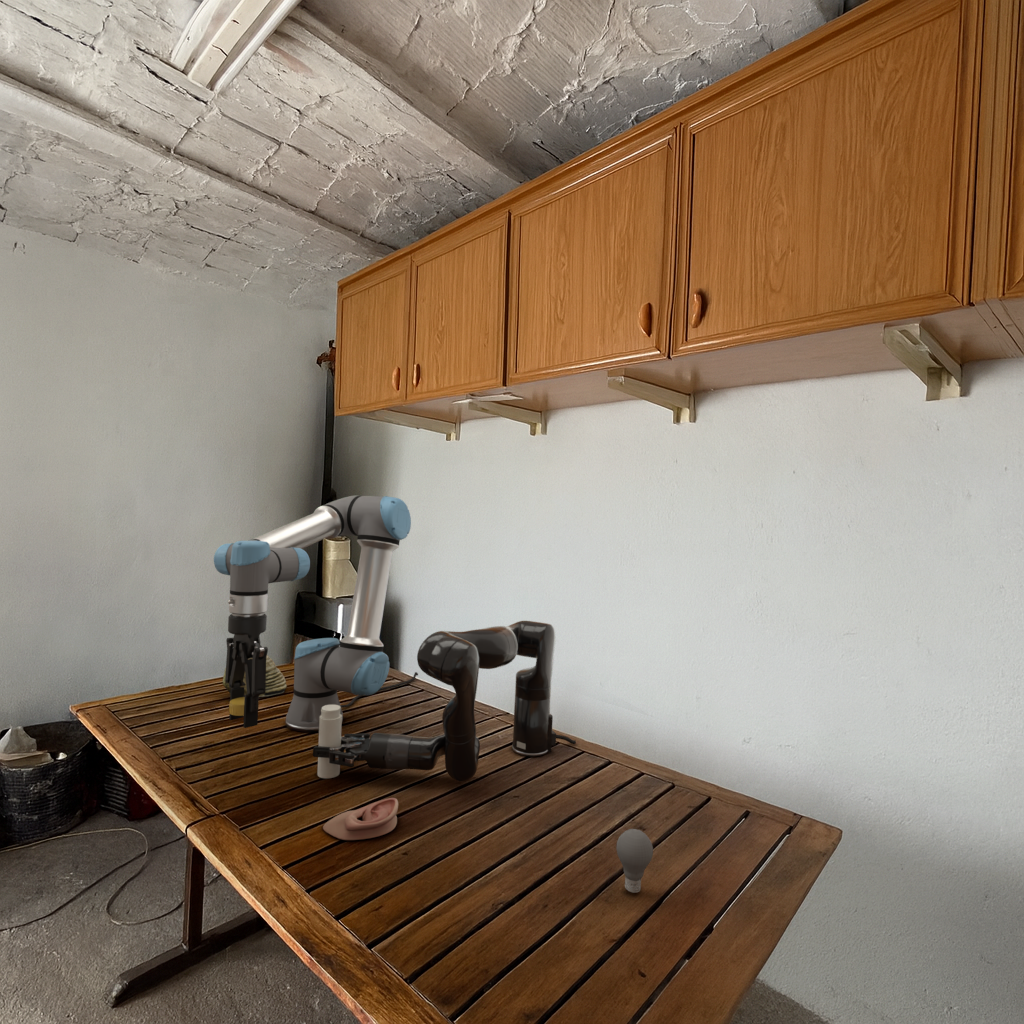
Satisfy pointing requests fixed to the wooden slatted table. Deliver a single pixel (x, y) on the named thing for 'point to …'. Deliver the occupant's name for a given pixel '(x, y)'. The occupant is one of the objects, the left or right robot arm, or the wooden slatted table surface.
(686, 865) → the wooden slatted table surface
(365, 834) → the anatomical model
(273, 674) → the fossil
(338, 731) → the bottle
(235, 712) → the lid
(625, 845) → the light bulb
